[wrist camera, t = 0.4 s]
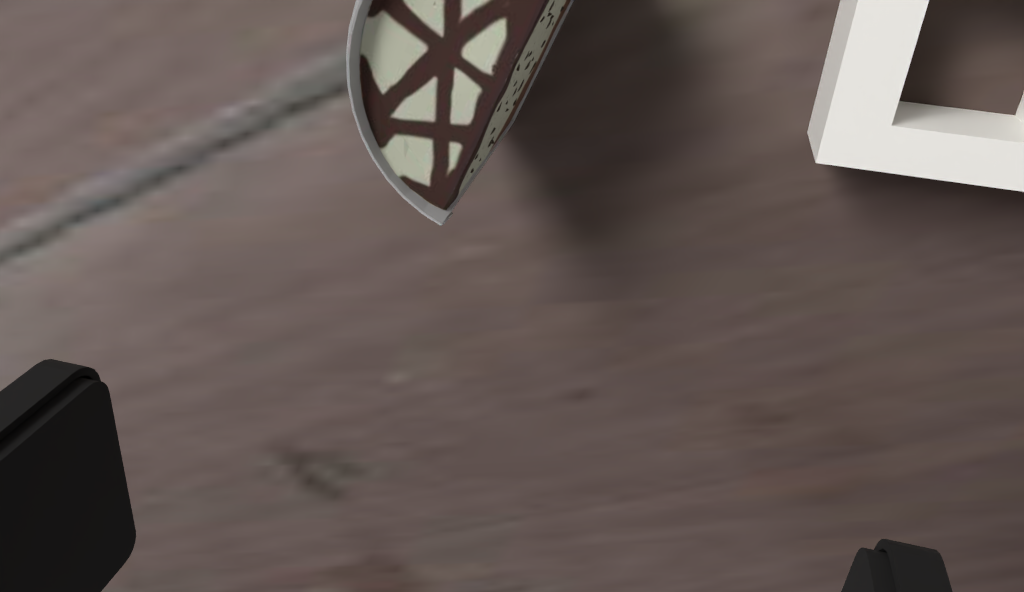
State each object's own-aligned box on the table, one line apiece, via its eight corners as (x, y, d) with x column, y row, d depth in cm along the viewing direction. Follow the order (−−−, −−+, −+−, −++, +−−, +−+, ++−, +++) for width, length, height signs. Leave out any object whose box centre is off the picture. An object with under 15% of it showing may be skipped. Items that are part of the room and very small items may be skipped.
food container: (491, -187, 33) (407, -198, 24) (628, -110, 33) (593, -94, 24) (383, 88, 39) (286, 157, 31) (499, 151, 39) (435, 237, 31)
